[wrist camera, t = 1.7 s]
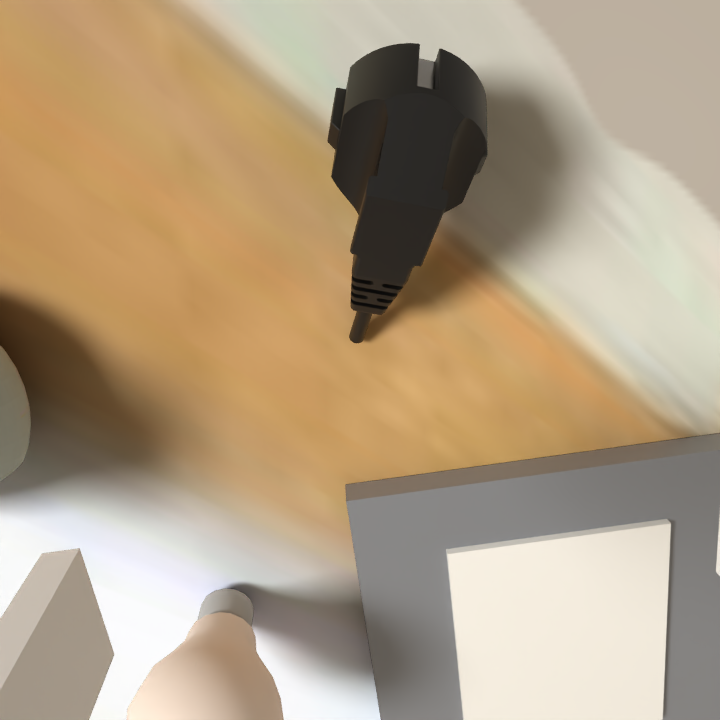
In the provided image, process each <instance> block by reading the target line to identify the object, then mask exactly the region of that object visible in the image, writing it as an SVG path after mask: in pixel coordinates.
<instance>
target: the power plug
mask: <svg viewBox="0 0 720 720" xmlns="http://www.w3.org/2000/svg"><path fill="white" fill-rule="evenodd" d="M419 49H420V44H413V43H406V44H396V45H391V46H386V47H383V48H380V49H378V50H375V51H373V52H371V53H369V54H367V55H366V56H364V57H362V58H361V59H360V60H358V61H357V62H356V63H355V64H354V65H352V66H351V67H350V72H349V77H348V82H347V88H346V89H341V88H336V92H335V98H334V103H333V109H332V116H331V122H330V128H329V135H328V143H329V144H330V145H331V146H332V147H333V148H334V149H335V155H334V162H333V169H332V176H331V177H332V179H333V181H334V182H335V184H336V185H337V187H338V188H339V189H340V191H341V192H342V193H343V194H344V196H345V197H346V198H347V199H348V200H349V202H350V203H351V204H352V205H353V206H354V208H355V209H356V211H357V213H358V215H359V217H358V221H357V224H356V228H355V232H354V236H353V240H352V244H351V249H350V252H351V253H352V254H354V257H353V266H352V284H351V308H352V309H353V310H354V311H357V313H356V316H355V319H354V322H353V325H352V329H351V332H350V335H349V338H350V340H351V341H352V342H354V343H360V342H362V341H363V339H364V336H365V333H366V330H367V327H368V324H369V322H370V319H371V316H372V314H377V315H382V314H383V313H384V312H385V311H386V310H387V308H388V306H389V305H390V304H391V303H392V301H393V300H394V299H395V297H396V296H397V294H398V293H399V292H400V291H401V289H402V288H403V286H404V285H405V284H406V282H407V281H408V278H409V276H410V273H411V271H412V268H413V267H414V266H421V265H422V264H423V261H424V259H425V256H426V254H427V251H428V249H429V247H430V244H431V242H432V239H433V237H434V234H435V232H436V230H437V227H438V225H439V222H440V220H441V218H442V215H443V213H444V212H446V211H448V210H450V209H452V208H454V207H456V206H457V205H459V204H461V203H462V202H463V200H464V197H465V195H466V193H467V190H468V188H469V186H470V184H471V181H472V179H473V177H474V175H476V174H478V173H479V172H480V170H481V168H482V166H483V164H484V161H485V159H486V157H487V110H486V94H485V91H484V88H483V86H482V83H481V81H480V80H479V78H478V76H477V75H476V74H475V72H474V71H473V70H472V69H471V68H470V67H469V66H468V65H467V64H466V63H465V62H464V61H462V60H461V59H460V58H458V57H457V56H455V55H453V54H452V53H450V52H448V51H445V50H443V49H439V52H438V55H437V58H436V61H435V62H433V61H429V60H424V59H419Z"/></svg>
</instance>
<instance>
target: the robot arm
mask: <svg viewBox="0 0 720 720" xmlns="http://www.w3.org/2000/svg"><path fill="white" fill-rule="evenodd" d="M716 572H717V574H718V575H719V576H720V517H719V532H718V547H717V562H716ZM113 656H114V652H113V649H112V646H111V643H110V640H109V637H108V634H107V631H106V628H105V625H104V621H103V618H102V615H101V612H100V609H99V606H98V603H97V600H96V597H95V594H94V591H93V588H92V585H91V582H90V579H89V576H88V573H87V570H86V566H85V563H84V560H83V557H82V554H81V551H80V548H79V549H71V550H64V551H57V552H49V553H42V554H41V556H40V558H39V559H38V561H37V562H36V564H35V565H34V567H33V568H32V570H31V572H30V573H29V575H28V576H27V578H26V579H25V581H24V583H23V584H22V586H21V587H20V589H19V590H18V592H17V594H16V595H15V597H14V598H13V600H12V601H11V603H10V605H9V606H8V608H7V609H6V611H5V612H4V614H3V616H2V617H1V619H0V720H89V718H90V716H91V713H92V711H93V708H94V705H95V703H96V700H97V698H98V695H99V692H100V690H101V687H102V685H103V682H104V680H105V677H106V674H107V672H108V669H109V667H110V664H111V662H112V659H113Z"/></svg>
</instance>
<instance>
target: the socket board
mask: <svg viewBox="0 0 720 720" xmlns="http://www.w3.org/2000/svg"><path fill="white" fill-rule="evenodd" d="M345 486H346V502H347V509H348V515H349V521H350V528H351V534H352V540H353V547H354V553H355V559H356V566H357V572H358V578H359V585H360V591H361V597H362V603H363V610H364V616H365V622H366V629H367V635H368V641H369V648H370V654H371V660H372V667H373V673H374V679H375V685H376V692H377V698H378V704H379V711H380V717H381V720H720V576H719V575H718V574H717V572H716V562H717V547H718V532H719V517H720V433H717V434H710V435H703V436H695V437H688V438H681V439H674V440H666V441H659V442H652V443H645V444H637V445H630V446H623V447H615V448H608V449H601V450H594V451H586V452H579V453H572V454H565V455H557V456H550V457H543V458H535V459H528V460H521V461H514V462H506V463H499V464H492V465H485V466H477V467H470V468H463V469H456V470H448V471H441V472H434V473H426V474H419V475H412V476H405V477H397V478H390V479H383V480H376V481H368V482H361V483H354V484H346V485H345Z"/></svg>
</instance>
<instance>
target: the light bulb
mask: <svg viewBox="0 0 720 720" xmlns="http://www.w3.org/2000/svg"><path fill="white" fill-rule="evenodd" d="M253 613H254V608H253V605H252V602H251V600H250V599H249V598H248V597H247V596H246V595H245V594H244V593H242V592H239V591H237V590H235V589H220V590H216V591H214V592H212V593H211V594H209V595H208V596H206V598H205V600H204V601H203V603H202V604H201V608H200V612H199V616H198V620H197V621H196V622H195V623H194V625H193V626H192V628H191V629H190V631H189V633H188V635H187V637H186V639H185V641H184V642H183V643H182V644H181V645H180V646H179V647H177V648H176V649H175V650H174V651H173V652H171V653H170V654H169V655H167V656H166V657H165V658H163V659H162V660H161V661H159V662H158V663H157V664H155V665H154V666H153V668H152V669H151V671H150V672H149V674H148V676H147V677H146V679H145V680H144V682H143V683H142V685H141V686H140V688H139V690H138V692H137V693H136V695H135V697H134V698H133V700H132V702H131V703H130V705H129V707H128V709H127V720H284V719H283V712H282V705H281V698H280V695H279V693H278V690H277V687H276V685H275V682H274V679H273V677H272V675H271V674H270V672H269V671H268V669H267V668H266V666H265V665H264V663H263V662H262V660H261V659H260V657H259V656H258V654H257V652H256V639H255V635H254V632H253V629H252V620H253Z"/></svg>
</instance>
